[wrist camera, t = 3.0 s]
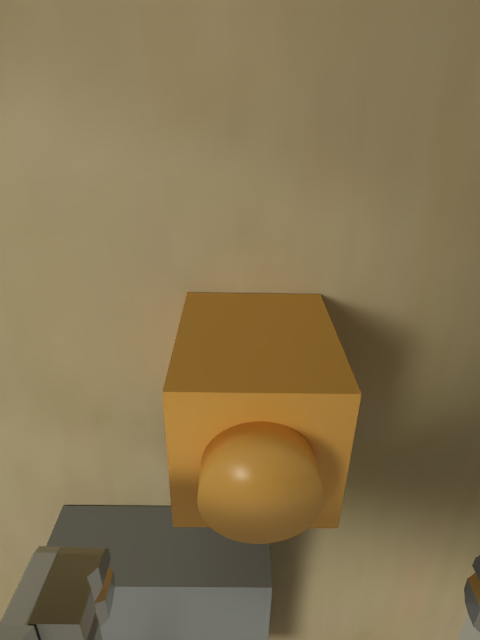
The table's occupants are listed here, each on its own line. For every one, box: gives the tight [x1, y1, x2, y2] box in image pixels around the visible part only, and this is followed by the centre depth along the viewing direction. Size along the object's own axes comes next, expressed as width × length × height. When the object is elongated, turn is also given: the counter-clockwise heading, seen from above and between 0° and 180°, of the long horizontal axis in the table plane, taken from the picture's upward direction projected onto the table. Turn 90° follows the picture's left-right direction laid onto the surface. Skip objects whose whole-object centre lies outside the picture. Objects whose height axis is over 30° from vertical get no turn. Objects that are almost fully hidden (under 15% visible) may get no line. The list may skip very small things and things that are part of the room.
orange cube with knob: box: [163, 292, 362, 544], centre depth 14 cm, size 5×5×7 cm
